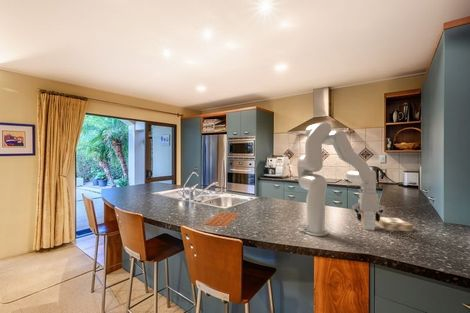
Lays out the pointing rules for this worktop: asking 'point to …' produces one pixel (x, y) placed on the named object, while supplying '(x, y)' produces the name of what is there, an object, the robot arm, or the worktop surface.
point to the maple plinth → (394, 224)
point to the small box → (368, 220)
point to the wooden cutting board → (222, 219)
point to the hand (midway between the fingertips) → (368, 220)
